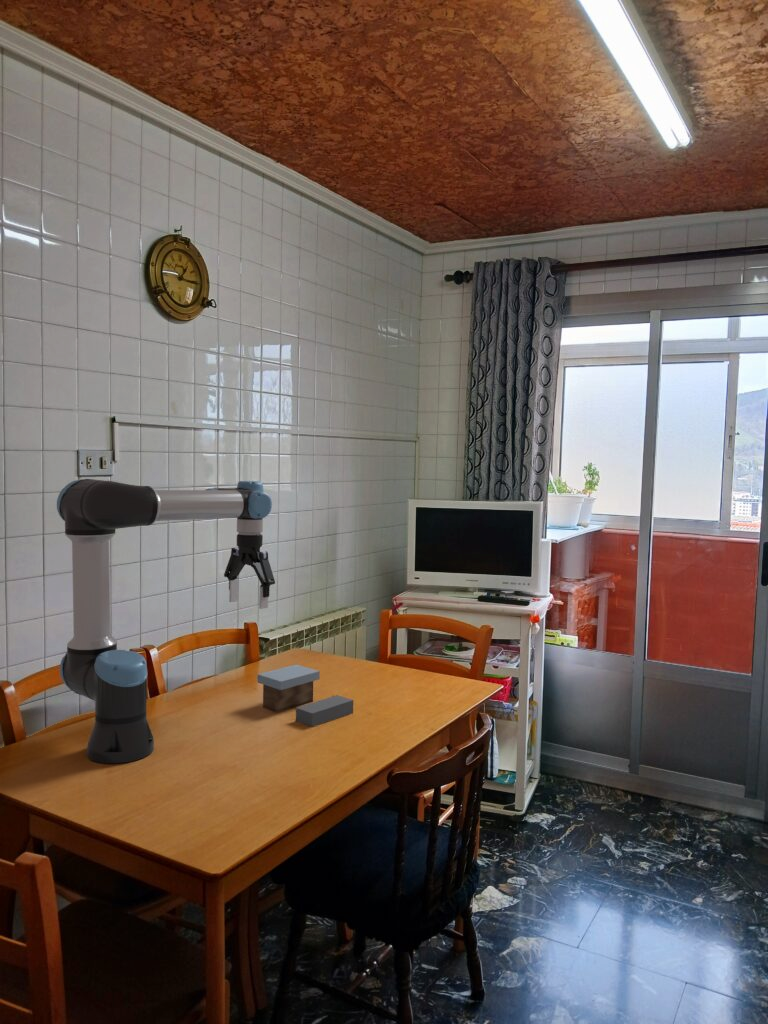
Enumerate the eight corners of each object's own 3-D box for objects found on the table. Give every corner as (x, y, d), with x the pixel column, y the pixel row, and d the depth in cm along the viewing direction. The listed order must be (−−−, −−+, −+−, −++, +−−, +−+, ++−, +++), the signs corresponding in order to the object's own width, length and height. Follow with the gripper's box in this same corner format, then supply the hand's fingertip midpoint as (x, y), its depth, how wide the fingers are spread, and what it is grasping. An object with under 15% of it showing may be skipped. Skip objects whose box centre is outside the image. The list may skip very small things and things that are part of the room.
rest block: (312, 727, 202) (312, 713, 202) (295, 721, 207) (296, 707, 206) (353, 712, 215) (353, 700, 214) (336, 707, 219) (337, 695, 218)
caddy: (276, 712, 213) (277, 688, 213) (262, 707, 217) (263, 683, 216) (312, 701, 224) (313, 678, 223) (298, 696, 228) (299, 674, 227)
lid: (280, 690, 211) (281, 681, 211) (257, 682, 217) (257, 674, 217) (319, 679, 222) (319, 671, 222) (296, 672, 229) (296, 664, 229)
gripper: (288, 536, 219) (286, 609, 220) (232, 529, 235) (231, 597, 236) (268, 537, 213) (266, 612, 214) (213, 530, 229) (211, 600, 230)
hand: (248, 604), depth 225 cm, fingers open, 13 cm apart
